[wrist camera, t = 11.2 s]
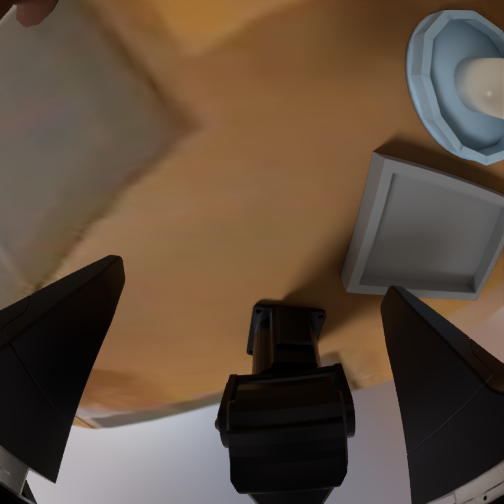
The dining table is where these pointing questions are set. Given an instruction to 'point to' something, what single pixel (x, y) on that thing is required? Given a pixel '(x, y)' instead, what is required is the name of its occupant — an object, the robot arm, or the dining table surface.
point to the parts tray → (423, 232)
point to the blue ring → (442, 82)
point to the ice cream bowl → (28, 10)
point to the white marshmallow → (481, 85)
